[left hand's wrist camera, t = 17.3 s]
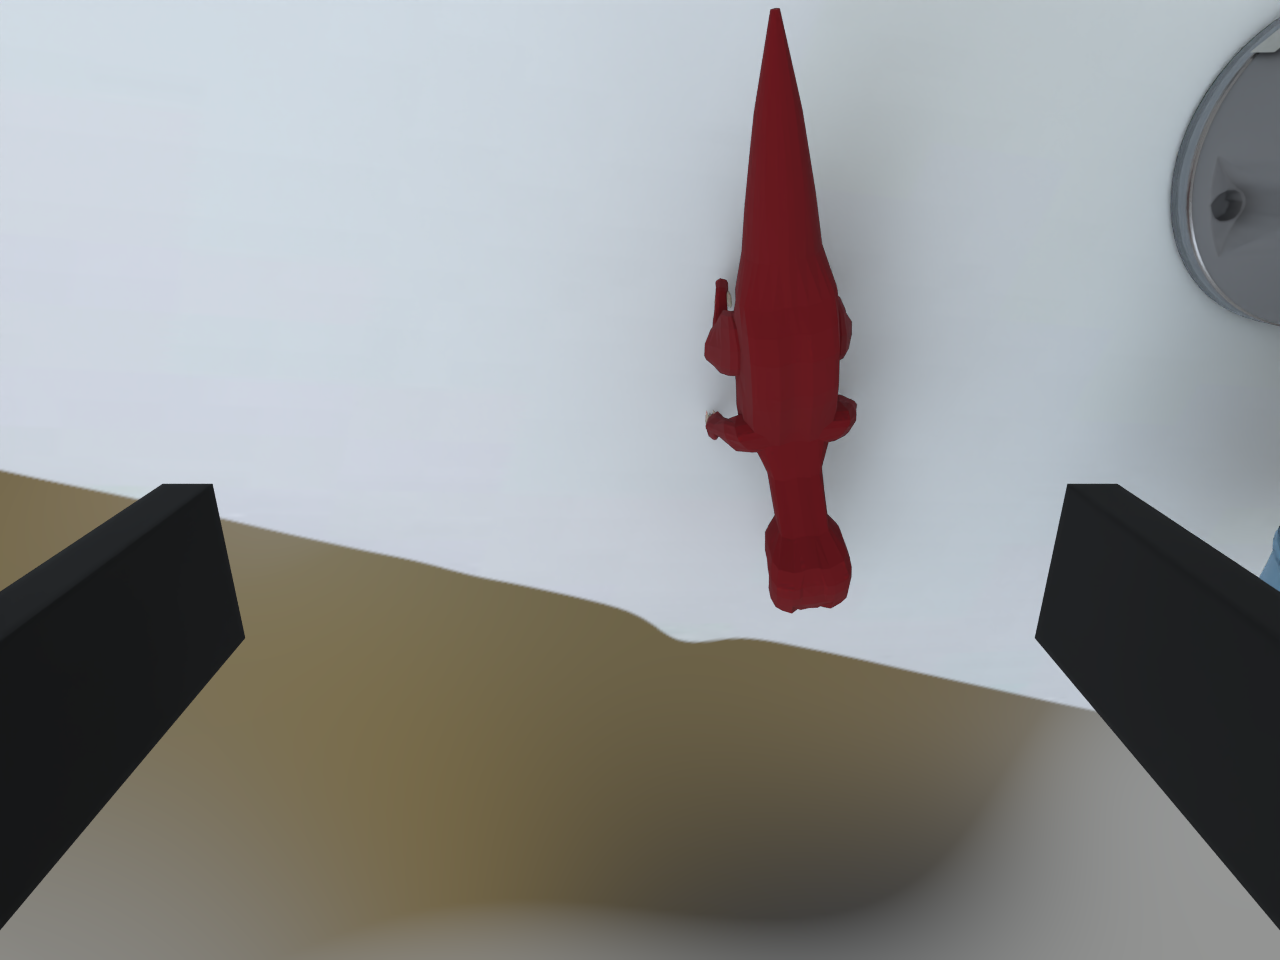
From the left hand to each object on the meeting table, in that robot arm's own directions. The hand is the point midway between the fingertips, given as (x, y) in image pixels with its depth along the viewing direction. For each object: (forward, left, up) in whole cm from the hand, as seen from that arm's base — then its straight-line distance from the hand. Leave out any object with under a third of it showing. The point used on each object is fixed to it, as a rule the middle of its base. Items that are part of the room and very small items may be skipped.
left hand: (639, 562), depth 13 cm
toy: (-7, -1, -30) cm, 31 cm away
